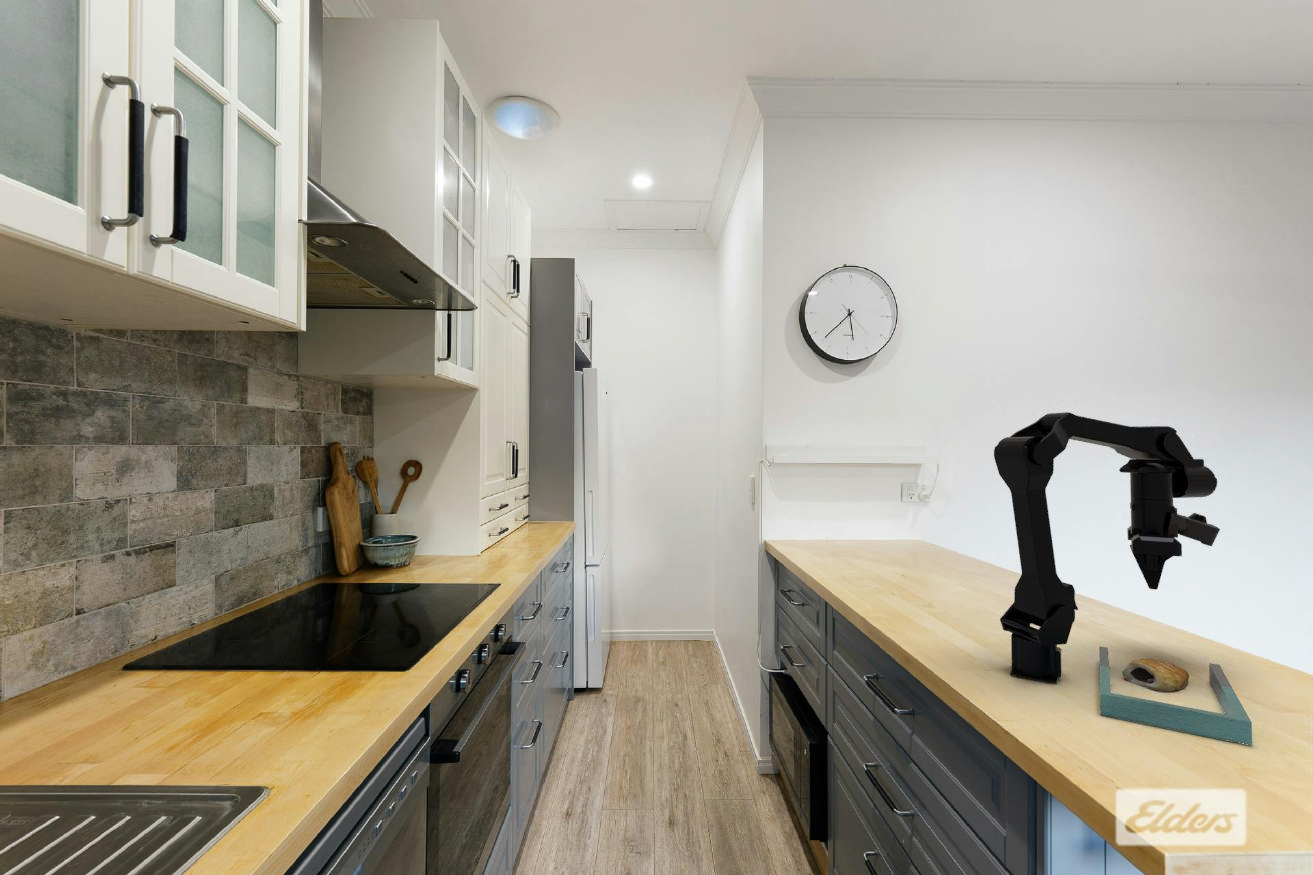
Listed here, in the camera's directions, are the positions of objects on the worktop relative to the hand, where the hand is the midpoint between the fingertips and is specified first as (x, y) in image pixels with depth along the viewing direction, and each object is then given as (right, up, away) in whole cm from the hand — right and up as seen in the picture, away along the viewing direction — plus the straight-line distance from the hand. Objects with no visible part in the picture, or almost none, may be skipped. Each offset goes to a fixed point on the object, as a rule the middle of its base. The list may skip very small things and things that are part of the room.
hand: (1153, 588), depth 105 cm
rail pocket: (-10, -13, -14) cm, 21 cm away
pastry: (-6, -13, -8) cm, 17 cm away
